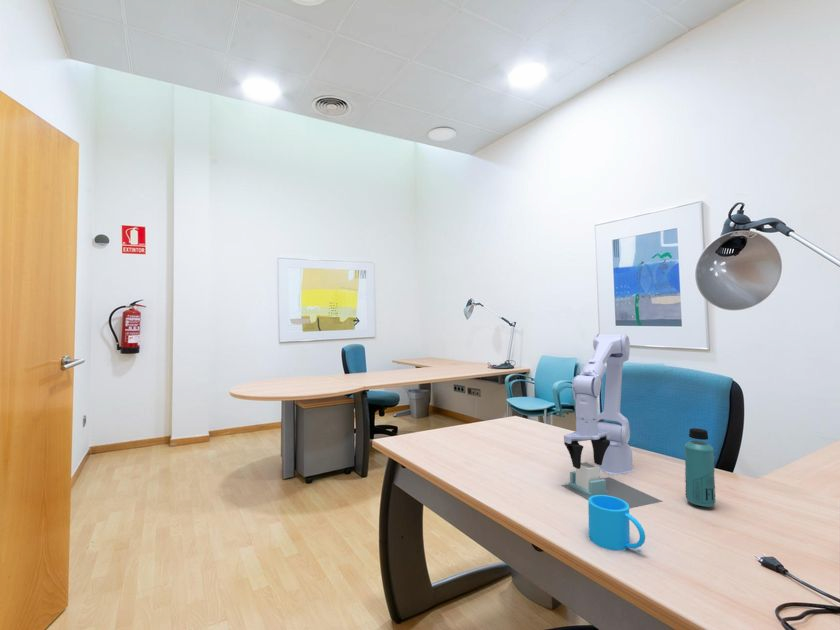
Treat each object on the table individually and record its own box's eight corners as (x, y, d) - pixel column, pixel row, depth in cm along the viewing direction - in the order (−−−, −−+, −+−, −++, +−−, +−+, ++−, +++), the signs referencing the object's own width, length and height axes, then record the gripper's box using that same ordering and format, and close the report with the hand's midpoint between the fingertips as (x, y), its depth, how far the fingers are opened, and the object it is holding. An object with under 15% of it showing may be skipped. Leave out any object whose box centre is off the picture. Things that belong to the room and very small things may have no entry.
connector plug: (586, 482, 118) (586, 461, 118) (599, 489, 113) (599, 467, 113) (575, 484, 116) (575, 463, 116) (588, 491, 111) (588, 469, 112)
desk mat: (609, 478, 124) (609, 477, 124) (662, 503, 107) (662, 501, 107) (561, 487, 117) (561, 485, 118) (609, 514, 101) (609, 512, 101)
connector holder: (585, 482, 120) (585, 469, 120) (607, 493, 112) (607, 479, 112) (568, 485, 117) (568, 472, 118) (590, 497, 109) (590, 482, 110)
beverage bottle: (707, 515, 100) (705, 434, 100) (679, 504, 106) (678, 428, 106) (721, 509, 103) (719, 430, 103) (693, 499, 109) (692, 425, 109)
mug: (581, 537, 90) (580, 500, 90) (602, 527, 94) (602, 492, 95) (634, 564, 80) (633, 522, 80) (655, 551, 84) (655, 512, 84)
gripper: (576, 423, 109) (576, 474, 108) (617, 418, 114) (618, 467, 113) (558, 417, 115) (559, 465, 115) (598, 413, 120) (599, 459, 120)
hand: (587, 465), depth 115 cm, fingers open, 7 cm apart
